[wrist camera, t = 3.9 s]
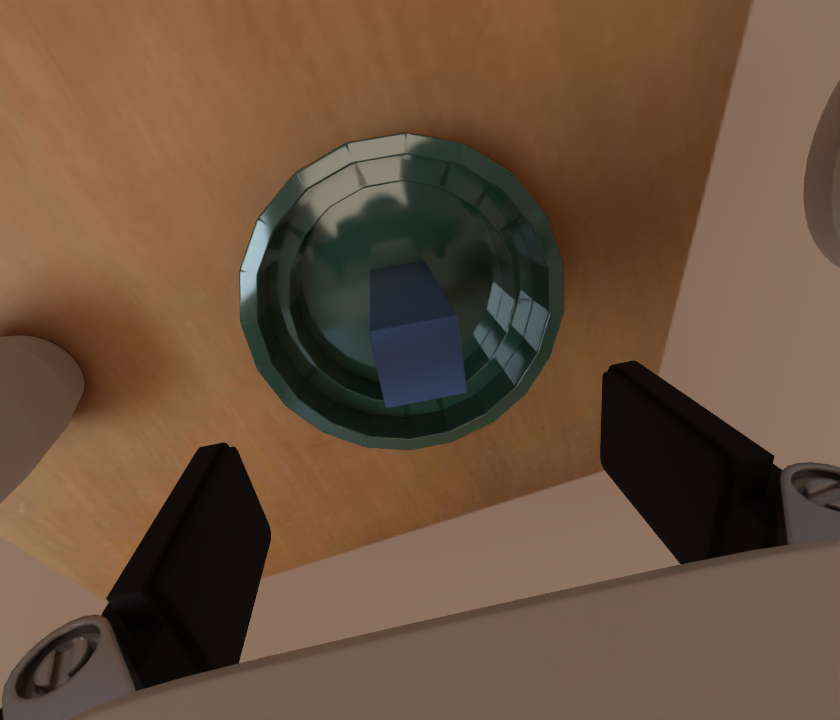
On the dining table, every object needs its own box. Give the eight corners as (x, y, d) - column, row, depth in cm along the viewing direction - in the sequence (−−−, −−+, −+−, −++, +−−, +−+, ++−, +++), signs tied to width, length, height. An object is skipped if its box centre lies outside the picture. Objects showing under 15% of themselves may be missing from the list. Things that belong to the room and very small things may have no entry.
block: (424, 260, 24) (457, 314, 15) (433, 313, 25) (467, 393, 16) (369, 270, 24) (367, 331, 15) (380, 323, 25) (385, 409, 16)
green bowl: (522, 119, 22) (562, 105, 17) (535, 380, 28) (566, 420, 24) (224, 171, 21) (184, 170, 17) (307, 424, 28) (294, 473, 23)
